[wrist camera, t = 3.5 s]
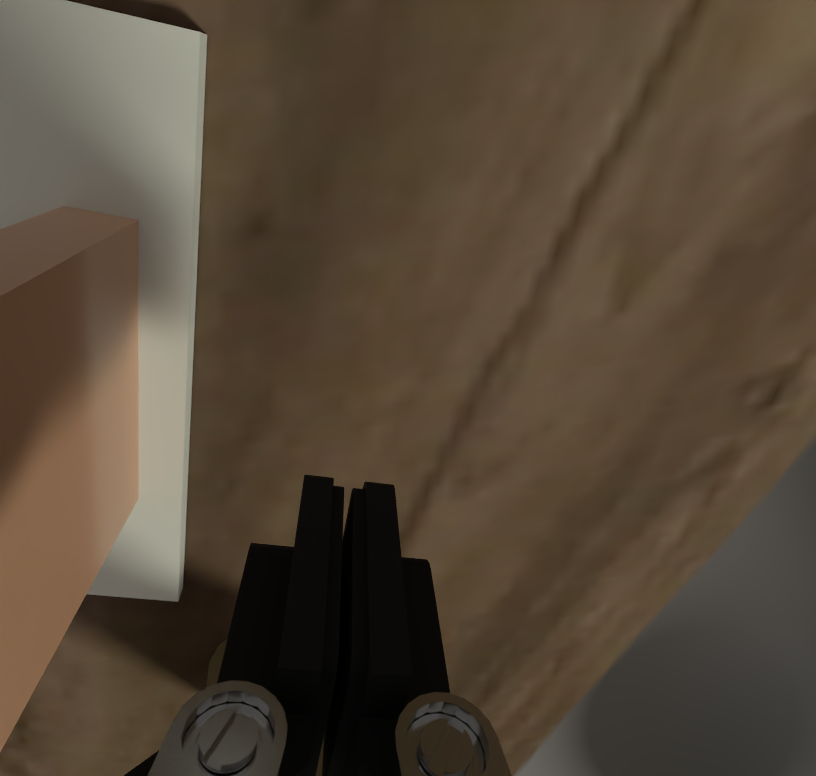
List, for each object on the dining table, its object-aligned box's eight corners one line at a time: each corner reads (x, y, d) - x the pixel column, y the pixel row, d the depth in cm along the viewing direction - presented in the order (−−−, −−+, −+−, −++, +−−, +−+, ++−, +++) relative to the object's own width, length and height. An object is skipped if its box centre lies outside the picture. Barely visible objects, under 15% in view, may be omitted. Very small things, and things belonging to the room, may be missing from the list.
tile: (56, 204, 13) (-319, 336, 6) (138, 219, 13) (-121, 364, 6) (74, 491, 16) (-147, 797, 9) (138, 498, 17) (-26, 799, 9)
